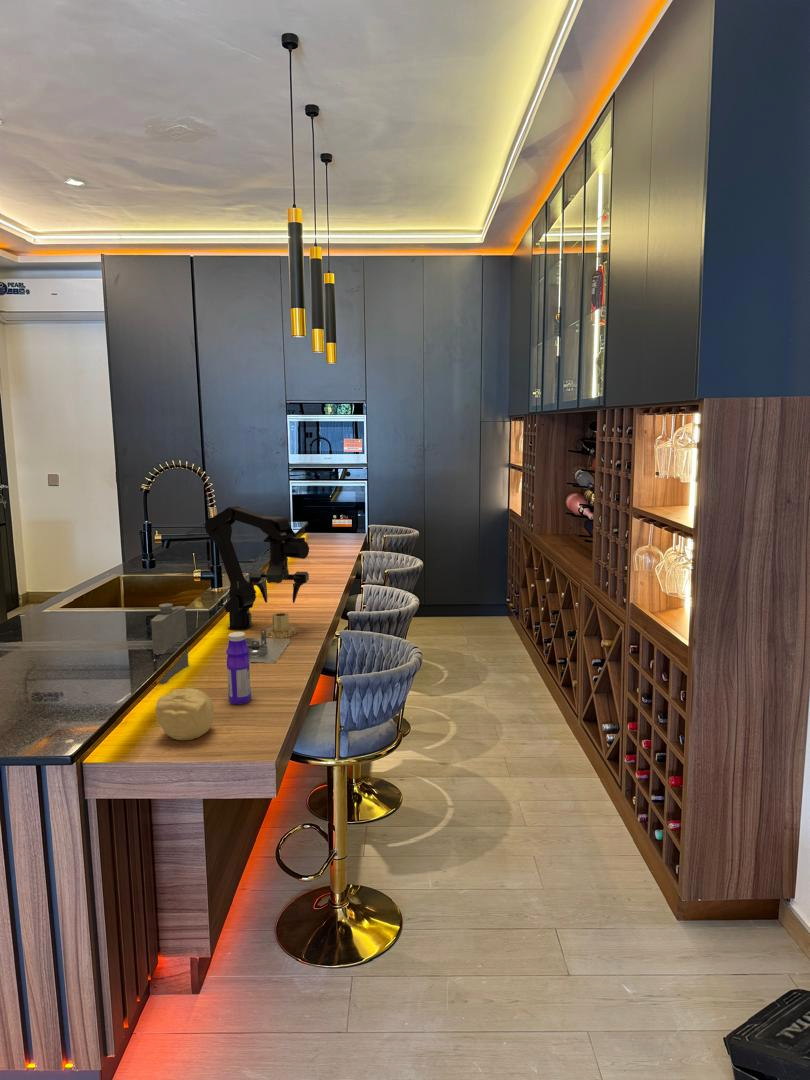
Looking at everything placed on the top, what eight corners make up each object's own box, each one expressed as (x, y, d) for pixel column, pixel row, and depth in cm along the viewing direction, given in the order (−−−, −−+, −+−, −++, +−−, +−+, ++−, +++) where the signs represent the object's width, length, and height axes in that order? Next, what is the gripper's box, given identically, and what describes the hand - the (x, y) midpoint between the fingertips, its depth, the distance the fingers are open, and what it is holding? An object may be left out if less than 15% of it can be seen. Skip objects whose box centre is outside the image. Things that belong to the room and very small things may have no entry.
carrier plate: (227, 662, 206) (226, 645, 205) (247, 641, 226) (246, 626, 225) (274, 663, 205) (274, 646, 204) (290, 642, 225) (289, 626, 224)
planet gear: (262, 638, 229) (261, 618, 228) (269, 629, 239) (269, 610, 238) (293, 638, 229) (292, 619, 228) (299, 629, 239) (299, 610, 238)
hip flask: (164, 684, 189) (159, 612, 186) (150, 683, 190) (145, 611, 186) (190, 664, 205) (186, 597, 201) (177, 664, 205) (173, 597, 202)
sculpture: (150, 744, 154) (147, 697, 152) (176, 721, 165) (173, 677, 163) (200, 747, 152) (197, 700, 150) (222, 724, 163) (220, 680, 162)
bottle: (252, 704, 175) (249, 636, 172) (229, 707, 174) (225, 638, 171) (250, 693, 182) (247, 628, 179) (227, 696, 180) (224, 630, 178)
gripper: (243, 560, 223) (245, 608, 225) (301, 561, 221) (303, 609, 224) (252, 554, 233) (254, 600, 236) (308, 554, 232) (309, 600, 235)
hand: (280, 602), depth 232 cm, fingers open, 9 cm apart
